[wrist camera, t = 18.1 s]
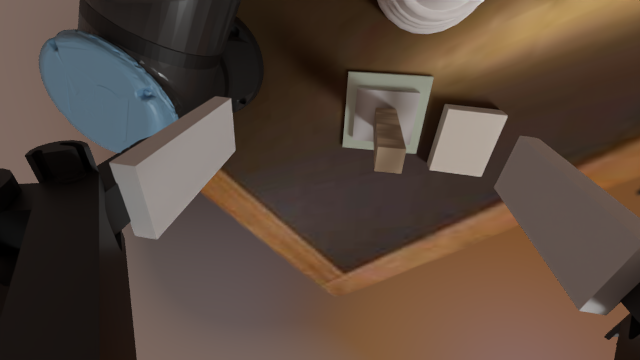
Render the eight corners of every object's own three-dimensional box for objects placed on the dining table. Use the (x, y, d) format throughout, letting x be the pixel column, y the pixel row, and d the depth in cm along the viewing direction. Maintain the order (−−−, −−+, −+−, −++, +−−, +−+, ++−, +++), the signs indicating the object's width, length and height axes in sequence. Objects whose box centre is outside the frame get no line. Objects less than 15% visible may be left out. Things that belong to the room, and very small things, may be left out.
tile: (475, 168, 47) (426, 161, 48) (500, 109, 42) (444, 103, 43) (481, 176, 45) (429, 169, 46) (507, 115, 40) (448, 109, 40)
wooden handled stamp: (352, 137, 47) (346, 186, 34) (357, 87, 42) (352, 122, 30) (408, 142, 46) (423, 194, 33) (419, 91, 41) (441, 129, 29)
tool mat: (342, 145, 48) (342, 146, 48) (348, 71, 42) (348, 71, 41) (415, 152, 47) (415, 153, 46) (432, 76, 41) (433, 77, 40)
